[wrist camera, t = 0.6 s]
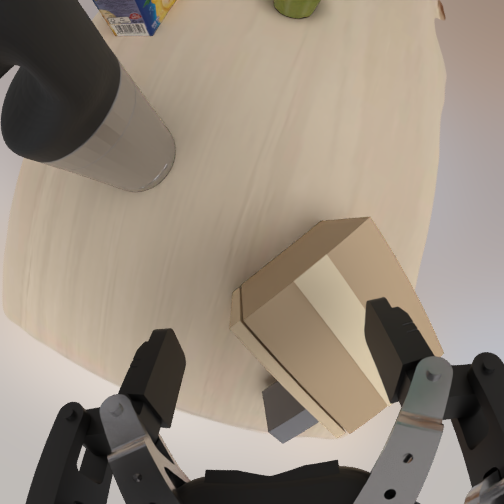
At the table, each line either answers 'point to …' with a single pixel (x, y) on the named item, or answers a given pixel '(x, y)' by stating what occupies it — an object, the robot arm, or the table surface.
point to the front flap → (281, 387)
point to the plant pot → (296, 7)
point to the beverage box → (134, 15)
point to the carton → (332, 313)
